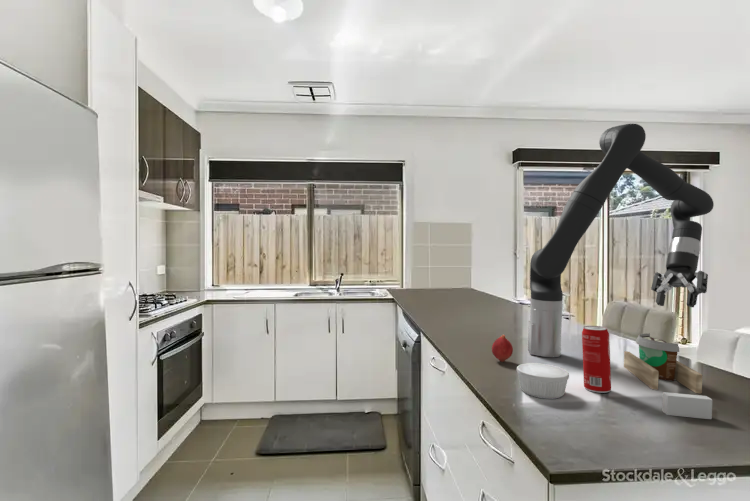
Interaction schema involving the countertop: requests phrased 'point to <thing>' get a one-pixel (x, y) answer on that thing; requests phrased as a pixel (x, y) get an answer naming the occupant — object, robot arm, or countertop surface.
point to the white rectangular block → (687, 405)
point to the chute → (651, 375)
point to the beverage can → (596, 359)
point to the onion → (502, 348)
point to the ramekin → (542, 380)
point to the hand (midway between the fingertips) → (674, 305)
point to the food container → (658, 355)
